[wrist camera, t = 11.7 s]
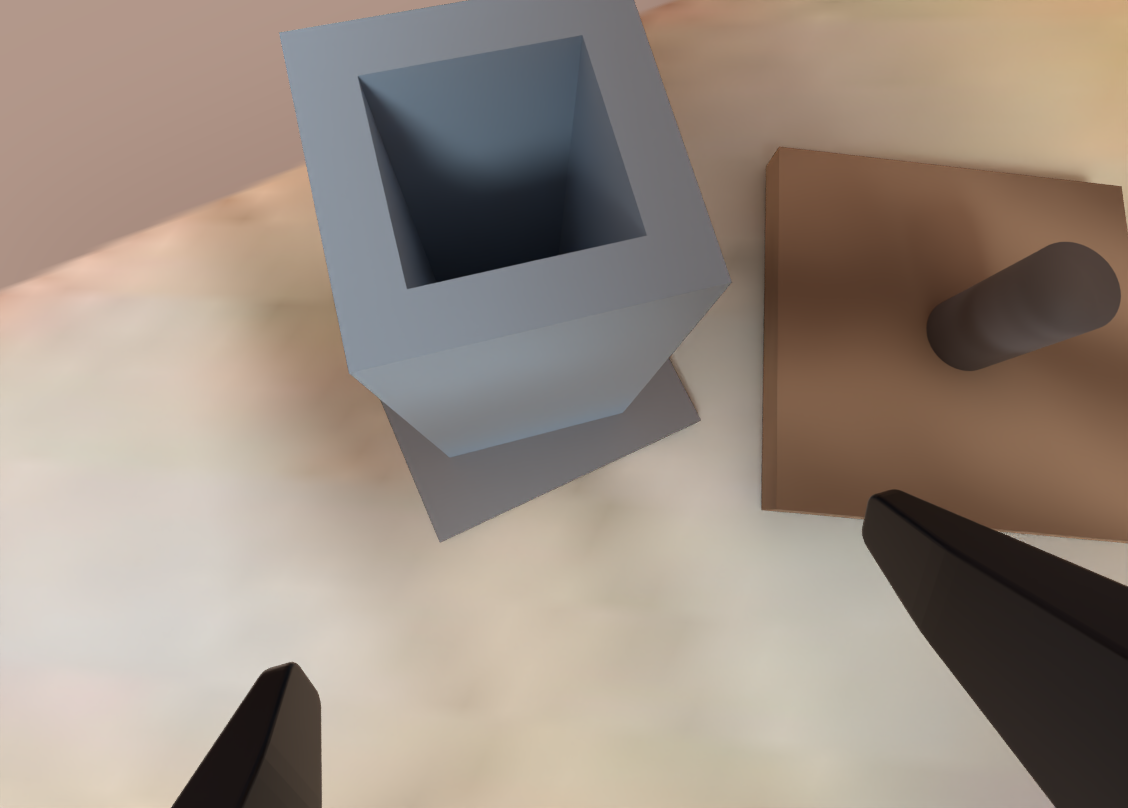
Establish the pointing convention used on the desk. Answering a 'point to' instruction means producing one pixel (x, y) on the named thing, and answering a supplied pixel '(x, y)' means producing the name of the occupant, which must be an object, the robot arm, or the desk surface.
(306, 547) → the desk surface
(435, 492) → the mat
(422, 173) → the sleeve
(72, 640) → the desk surface
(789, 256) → the stand
